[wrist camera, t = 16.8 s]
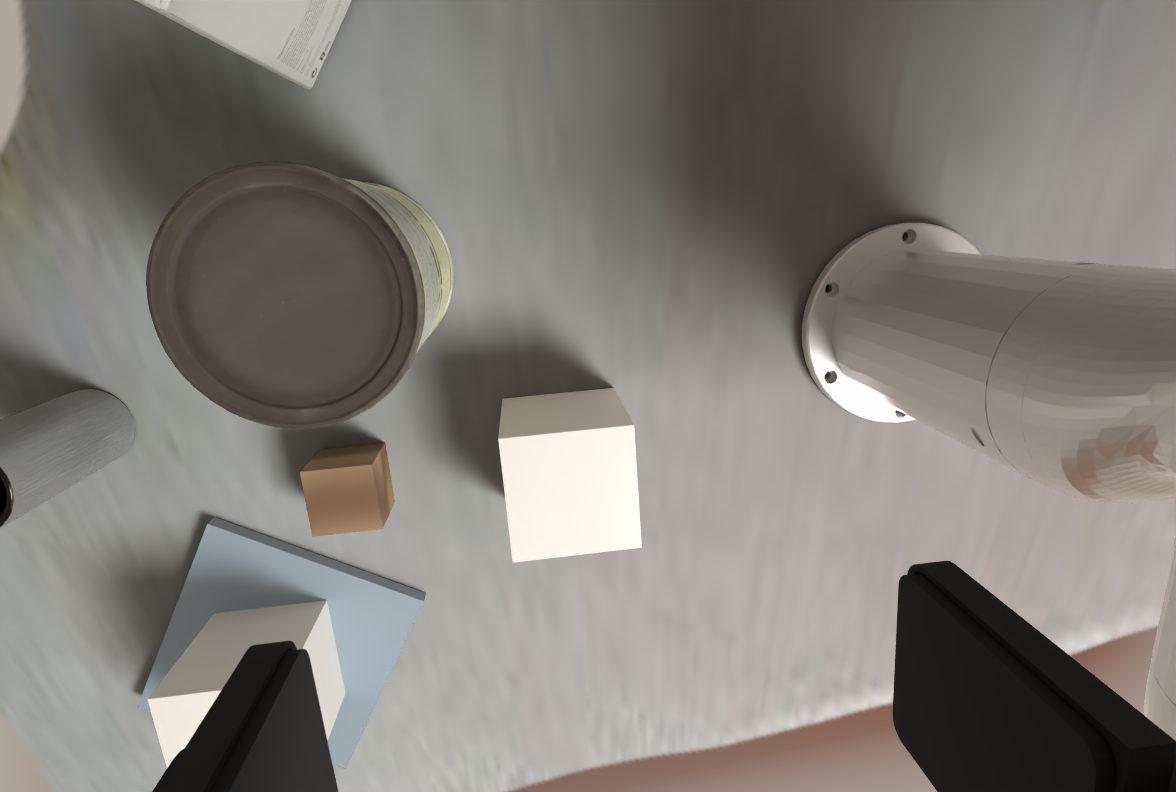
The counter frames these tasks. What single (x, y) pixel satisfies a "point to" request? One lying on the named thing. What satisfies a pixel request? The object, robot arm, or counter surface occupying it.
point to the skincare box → (265, 30)
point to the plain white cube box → (569, 474)
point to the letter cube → (348, 489)
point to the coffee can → (296, 291)
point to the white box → (218, 655)
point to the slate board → (291, 576)
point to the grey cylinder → (58, 447)
